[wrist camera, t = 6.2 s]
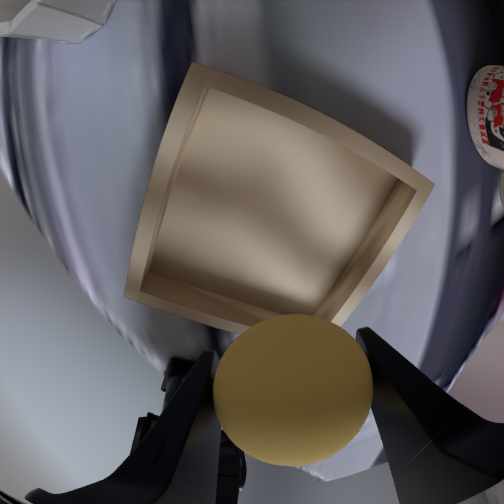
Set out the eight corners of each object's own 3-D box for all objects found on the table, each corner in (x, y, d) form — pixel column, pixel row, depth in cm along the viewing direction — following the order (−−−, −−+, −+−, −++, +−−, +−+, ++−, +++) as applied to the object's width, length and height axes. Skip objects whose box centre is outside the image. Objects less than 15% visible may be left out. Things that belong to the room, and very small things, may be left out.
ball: (318, 448, 10) (336, 513, 5) (209, 403, 11) (163, 446, 6) (371, 343, 11) (428, 351, 6) (260, 296, 12) (244, 275, 7)
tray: (311, 327, 24) (317, 353, 21) (136, 272, 21) (123, 296, 18) (411, 170, 17) (435, 184, 14) (201, 68, 14) (192, 61, 11)
